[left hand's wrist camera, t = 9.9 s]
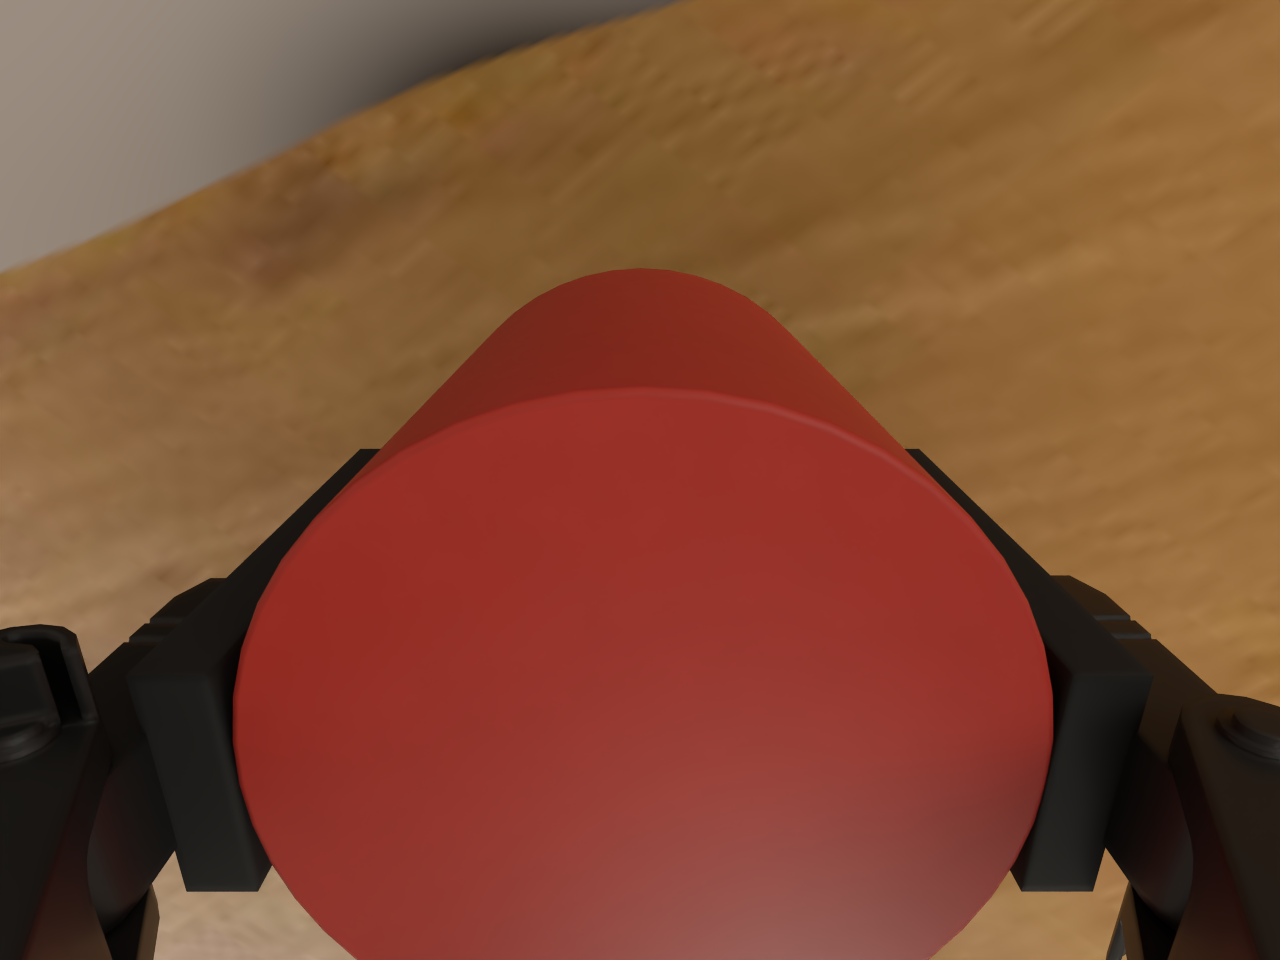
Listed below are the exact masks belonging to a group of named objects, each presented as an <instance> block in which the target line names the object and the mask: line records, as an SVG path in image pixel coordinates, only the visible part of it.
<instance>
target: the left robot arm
mask: <svg viewBox="0 0 1280 960" xmlns="http://www.w3.org/2000/svg"><path fill="white" fill-rule="evenodd" d="M380 450H381V449H360V450H359V451H358V452H357V453H356V454H355V455H354V456H353V457H352V458H351V459H350V460H349V461H347V462H346V463H345V464H344V465H343V466H342V467H341V468H340V469H339V470H338V471H337V472H336V473H335V474H334V475H333V476H332V477H331V478H330V479H329V480H328V481H327V482H326V483H325V484H324V485H323V486H322V487H320V488H319V489H318V490H317V491H316V492H315V493H314V494H313V495H312V496H311V497H310V498H309V499H308V500H307V501H306V502H305V503H304V504H303V505H302V506H301V507H300V508H299V509H298V510H297V511H296V512H295V513H293V514H292V515H291V516H290V517H289V518H288V519H287V520H286V521H285V522H284V523H283V524H282V525H281V526H280V527H279V528H278V529H277V530H276V531H275V532H274V533H273V534H272V535H271V536H270V537H269V538H268V539H266V540H265V541H264V542H263V543H262V544H261V545H260V546H259V547H258V548H257V549H256V550H255V551H254V552H253V553H252V554H251V555H250V556H249V557H248V558H247V559H246V560H245V561H244V562H243V563H242V564H241V565H239V566H238V567H237V568H236V569H235V570H234V571H233V572H232V573H231V574H230V575H229V576H228V577H227V578H210V579H208V580H206V581H204V582H202V583H200V584H199V585H197V586H195V587H193V588H191V589H189V590H187V591H185V592H183V593H181V594H179V595H177V596H176V597H174V598H173V599H172V600H171V601H170V602H168V603H167V604H166V605H165V606H164V607H163V608H162V609H161V610H159V611H158V612H157V613H156V614H155V615H154V616H153V617H152V618H151V619H150V623H149V624H144V625H143V626H142V627H140V628H139V629H138V630H137V631H136V632H135V633H134V634H133V635H132V636H130V637H129V642H124V643H123V644H122V645H120V646H119V647H118V648H117V649H116V650H115V651H114V652H113V653H111V654H110V655H109V656H108V657H107V658H106V659H105V660H104V661H103V662H101V663H100V664H99V665H98V666H97V667H96V668H95V669H94V670H93V671H91V672H90V673H89V674H88V672H87V669H86V666H85V662H84V659H83V656H82V652H81V649H80V646H79V643H78V639H77V636H76V634H75V633H73V632H71V631H70V630H68V629H66V628H65V627H62V626H52V625H43V624H38V625H28V626H19V627H10V628H6V629H2V630H0V960H153V958H154V952H155V945H156V938H157V932H158V925H159V919H160V917H159V910H158V903H157V899H156V895H155V892H154V889H153V885H152V882H153V881H154V880H155V878H156V877H157V875H158V874H159V872H160V871H161V869H162V868H163V867H164V865H165V864H166V862H167V861H168V859H169V858H170V856H171V855H172V854H173V852H174V851H175V853H176V856H177V860H178V863H179V867H180V870H181V874H182V877H183V881H184V884H185V888H186V891H187V892H258V890H259V889H260V887H261V885H262V883H263V881H264V879H265V877H266V875H267V874H268V872H269V870H270V868H271V866H272V864H271V862H270V860H269V858H268V856H267V854H266V852H265V850H264V848H263V846H262V844H261V842H260V840H259V838H258V836H257V834H256V831H255V829H254V827H253V825H252V822H251V819H250V816H249V813H248V810H247V807H246V804H245V801H244V797H243V794H242V791H241V788H240V785H239V779H238V773H237V766H236V760H235V753H234V747H233V693H234V687H235V682H236V676H237V670H238V665H239V659H240V653H241V648H242V645H243V642H244V639H245V636H246V634H247V631H248V628H249V625H250V622H251V620H252V617H253V614H254V611H255V608H256V606H257V603H258V601H259V599H260V598H261V596H262V594H263V592H264V590H265V589H266V587H267V585H268V583H269V581H270V580H271V578H272V576H273V574H274V572H275V571H276V569H277V567H278V565H279V563H280V562H281V560H282V558H283V557H284V556H285V555H286V553H287V552H288V551H289V550H290V548H291V547H292V546H293V544H294V543H295V542H296V541H297V539H298V538H299V537H300V536H301V534H302V533H303V532H304V530H305V529H306V528H307V527H308V525H309V524H310V523H311V522H312V520H313V519H314V518H315V517H316V516H317V515H318V514H319V513H320V512H321V511H322V510H323V509H324V508H325V507H326V506H327V504H328V503H329V502H330V501H331V500H332V499H333V498H334V497H335V496H336V495H337V494H338V493H339V492H340V491H341V490H342V489H343V488H344V487H345V486H346V485H347V484H348V483H349V482H350V481H351V480H352V479H353V478H354V476H355V475H356V474H357V473H358V472H359V471H360V470H361V469H362V468H363V467H364V466H365V465H366V464H367V463H368V462H369V461H370V460H371V459H372V458H373V457H374V456H375V455H376V454H377V453H378V452H379V451H380ZM905 450H906V451H907V452H908V453H909V454H910V455H911V456H912V457H913V458H914V459H915V460H916V461H917V462H918V463H919V464H920V465H921V466H922V467H923V469H924V470H925V471H926V472H927V473H928V474H929V475H930V476H931V477H932V478H933V479H934V480H935V481H936V482H937V483H938V484H939V485H940V486H941V487H942V488H943V489H944V490H945V491H946V492H947V493H948V494H949V495H950V496H951V497H952V498H953V499H954V500H955V501H956V502H957V503H958V504H959V505H960V506H961V507H962V508H963V509H964V510H965V511H966V512H967V513H968V514H969V515H970V516H971V517H972V519H973V520H974V521H975V522H976V524H977V525H978V526H979V527H980V529H981V530H982V531H983V532H984V534H985V535H986V536H987V537H988V539H989V540H990V541H991V542H992V544H993V545H994V546H995V547H996V549H997V550H998V551H999V552H1000V554H1001V555H1002V556H1003V558H1004V559H1005V561H1006V563H1007V565H1008V566H1009V568H1010V570H1011V572H1012V573H1013V575H1014V577H1015V579H1016V581H1017V582H1018V584H1019V586H1020V588H1021V589H1022V591H1023V593H1024V595H1025V597H1026V598H1027V600H1028V602H1029V605H1030V608H1031V611H1032V613H1033V616H1034V619H1035V622H1036V625H1037V627H1038V630H1039V633H1040V636H1041V638H1042V641H1043V644H1044V648H1045V653H1046V659H1047V664H1048V670H1049V675H1050V681H1051V686H1052V693H1053V745H1052V752H1051V758H1050V765H1049V770H1048V774H1047V779H1046V784H1045V787H1044V791H1043V795H1042V799H1041V803H1040V806H1039V809H1038V812H1037V815H1036V818H1035V821H1034V824H1033V826H1032V828H1031V830H1030V832H1029V834H1028V836H1027V839H1026V841H1025V843H1024V845H1023V847H1022V849H1021V851H1020V853H1019V855H1018V857H1017V859H1016V861H1015V863H1014V864H1013V866H1012V867H1011V869H1010V871H1011V873H1012V875H1013V876H1014V878H1015V880H1016V882H1017V884H1018V886H1019V888H1020V890H1021V891H1093V889H1094V886H1095V882H1096V879H1097V875H1098V871H1099V868H1100V864H1101V861H1102V857H1103V854H1104V850H1105V847H1106V849H1107V850H1108V852H1109V853H1110V854H1111V856H1112V857H1113V859H1114V860H1115V862H1116V863H1117V864H1118V866H1119V867H1120V869H1121V870H1122V872H1123V873H1124V874H1125V876H1126V877H1127V879H1128V880H1129V882H1128V885H1127V889H1126V892H1125V895H1124V899H1123V902H1122V905H1121V908H1120V912H1119V915H1118V918H1117V922H1116V925H1115V928H1114V931H1113V935H1112V938H1111V941H1110V945H1109V948H1108V951H1107V956H1106V960H1121V959H1122V956H1124V955H1125V954H1126V956H1127V960H1280V707H1279V706H1275V705H1272V704H1269V703H1265V702H1262V701H1258V700H1255V699H1251V698H1248V697H1242V696H1234V695H1225V694H1217V693H1216V692H1215V691H1214V690H1213V689H1212V688H1210V687H1209V686H1208V685H1207V684H1206V683H1205V682H1204V681H1203V680H1201V679H1200V678H1199V677H1198V676H1197V675H1196V674H1195V673H1194V672H1192V671H1191V670H1190V669H1189V668H1188V667H1187V666H1186V665H1185V664H1183V663H1182V662H1181V661H1180V660H1179V659H1178V658H1177V657H1176V656H1175V655H1173V654H1172V653H1171V652H1170V651H1169V650H1168V649H1167V648H1166V647H1164V646H1163V645H1162V644H1161V643H1160V642H1159V641H1158V640H1157V639H1151V634H1150V633H1149V632H1148V631H1146V630H1145V629H1144V628H1143V627H1142V626H1141V625H1140V624H1139V623H1137V622H1136V621H1131V620H1130V615H1128V614H1127V613H1126V612H1125V611H1124V610H1123V609H1122V608H1121V607H1119V606H1118V605H1117V604H1116V603H1115V602H1114V601H1113V600H1112V599H1110V598H1109V597H1108V596H1107V595H1106V594H1104V593H1102V592H1100V591H1098V590H1096V589H1095V588H1093V587H1091V586H1089V585H1087V584H1085V583H1083V582H1081V581H1079V580H1077V579H1075V578H1073V577H1071V576H1050V575H1049V574H1048V573H1047V572H1046V571H1045V570H1044V569H1043V568H1042V567H1041V566H1040V565H1039V564H1038V563H1037V562H1036V561H1035V560H1034V559H1033V558H1032V557H1031V556H1030V555H1029V554H1027V553H1026V552H1025V551H1024V550H1023V549H1022V548H1021V547H1020V546H1019V545H1018V544H1017V543H1016V542H1015V541H1014V540H1013V539H1012V538H1011V537H1010V536H1009V535H1008V534H1007V533H1006V532H1005V531H1004V530H1003V529H1002V528H1000V527H999V526H998V525H997V524H996V523H995V522H994V521H993V520H992V519H991V518H990V517H989V516H988V515H987V514H986V513H985V512H984V511H983V510H982V509H981V508H980V507H979V506H978V505H977V504H976V503H975V502H973V501H972V500H971V499H970V498H969V497H968V496H967V495H966V494H965V493H964V492H963V491H962V490H961V489H960V488H959V487H958V486H957V485H956V484H955V483H954V482H953V481H952V480H951V479H950V478H949V477H948V476H946V475H945V474H944V473H943V472H942V471H941V470H940V469H939V468H938V467H937V466H936V465H935V464H934V463H933V462H932V461H931V460H930V459H929V458H928V457H927V456H926V455H925V454H924V453H923V452H922V451H921V450H920V449H905Z"/></svg>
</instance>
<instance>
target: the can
mask: <svg viewBox="0 0 1280 960" xmlns="http://www.w3.org/2000/svg"><path fill="white" fill-rule="evenodd" d="M1052 745H1053V693H1052V686H1051V681H1050V675H1049V670H1048V664H1047V659H1046V653H1045V648H1044V644H1043V641H1042V638H1041V636H1040V633H1039V630H1038V627H1037V625H1036V622H1035V619H1034V616H1033V613H1032V611H1031V608H1030V605H1029V602H1028V600H1027V598H1026V597H1025V595H1024V593H1023V591H1022V589H1021V588H1020V586H1019V584H1018V582H1017V581H1016V579H1015V577H1014V575H1013V573H1012V572H1011V570H1010V568H1009V566H1008V565H1007V563H1006V561H1005V559H1004V558H1003V556H1002V555H1001V554H1000V552H999V551H998V550H997V549H996V547H995V546H994V545H993V544H992V542H991V541H990V540H989V539H988V537H987V536H986V535H985V534H984V532H983V531H982V530H981V529H980V527H979V526H978V525H977V524H976V522H975V521H974V520H973V519H972V517H971V516H970V515H969V514H968V513H967V512H966V511H965V510H964V509H963V508H962V507H961V506H960V505H959V504H958V503H957V502H956V501H955V500H954V499H953V498H952V497H951V496H950V495H949V494H948V493H947V492H946V491H945V490H944V489H943V488H942V487H941V486H940V485H939V484H938V483H937V482H936V481H935V480H934V479H933V478H932V477H931V476H930V475H929V474H928V473H927V472H926V471H925V470H924V469H923V467H922V466H921V465H920V464H919V463H918V462H917V461H916V460H915V459H914V458H913V457H912V456H911V455H910V454H909V453H908V452H907V451H906V450H905V449H904V448H903V447H902V446H901V445H900V444H899V443H898V442H897V441H896V440H895V439H894V438H893V437H892V436H891V435H890V434H889V433H888V432H887V431H886V430H885V429H884V428H883V427H882V426H881V425H880V424H879V423H878V422H877V421H876V420H875V419H874V418H873V417H872V416H871V415H870V414H869V413H868V412H867V411H866V410H865V409H864V408H863V407H862V406H861V405H860V404H859V403H858V402H857V401H856V400H855V399H854V398H853V396H852V395H851V394H850V393H849V392H848V391H847V390H846V389H845V388H844V387H843V386H842V385H841V384H840V383H839V382H838V381H837V380H836V379H835V378H834V377H833V376H832V375H831V374H830V373H829V372H828V371H827V370H826V369H825V368H824V367H823V366H822V365H821V364H820V363H819V362H818V361H817V360H816V359H815V358H814V357H813V356H812V355H811V354H810V353H809V352H808V351H807V350H806V349H805V348H804V347H803V346H802V345H801V344H800V343H799V342H798V341H797V340H796V339H795V338H794V337H793V336H792V335H791V334H790V333H789V332H788V331H787V330H786V329H785V328H784V327H783V326H782V325H781V324H780V323H779V322H778V321H777V320H776V319H775V318H773V317H772V316H771V315H770V314H769V313H768V312H767V311H765V310H764V309H762V308H761V307H759V306H758V305H757V304H755V303H754V302H752V301H751V300H749V299H748V298H747V297H745V296H743V295H741V294H739V293H737V292H735V291H733V290H731V289H729V288H727V287H725V286H723V285H721V284H718V283H715V282H712V281H709V280H707V279H704V278H701V277H698V276H695V275H690V274H685V273H680V272H675V271H670V270H657V269H641V268H640V269H626V270H613V271H608V272H603V273H598V274H593V275H589V276H585V277H582V278H579V279H576V280H573V281H571V282H568V283H565V284H562V285H560V286H558V287H556V288H554V289H552V290H550V291H548V292H546V293H544V294H542V295H540V296H538V297H536V298H535V299H533V300H532V301H530V302H529V303H528V304H526V305H525V306H523V307H522V308H521V309H519V310H518V311H516V312H515V313H514V314H513V315H511V316H510V317H509V318H508V319H507V320H506V321H505V322H504V323H503V324H502V325H501V326H500V327H499V328H498V329H497V330H495V331H494V332H493V333H492V335H491V336H490V337H489V338H488V339H487V340H486V341H485V342H484V343H483V344H482V345H481V346H480V347H479V348H478V349H477V350H476V351H475V352H474V353H473V354H472V355H471V356H470V357H469V358H468V359H467V360H466V361H465V362H464V364H463V365H462V366H461V367H460V368H459V369H458V370H457V371H456V372H455V373H454V374H453V375H452V376H451V377H450V378H449V379H448V380H447V381H446V382H445V383H444V384H443V385H442V386H441V387H440V388H439V389H438V390H437V392H436V393H435V394H434V395H433V396H432V397H431V398H430V399H429V400H428V401H427V402H426V403H425V404H424V405H423V406H422V407H421V408H420V409H419V410H418V411H417V412H416V413H415V414H414V415H413V416H412V417H411V418H410V419H409V421H408V422H407V423H406V424H405V425H404V426H403V427H402V428H401V429H400V430H399V431H398V432H397V433H396V434H395V435H394V436H393V437H392V438H391V439H390V440H389V441H388V442H387V443H386V444H385V445H384V446H383V447H382V449H381V450H380V451H379V452H378V453H377V454H376V455H375V456H374V457H373V458H372V459H371V460H370V461H369V462H368V463H367V464H366V465H365V466H364V467H363V468H362V469H361V470H360V471H359V472H358V473H357V474H356V475H355V476H354V478H353V479H352V480H351V481H350V482H349V483H348V484H347V485H346V486H345V487H344V488H343V489H342V490H341V491H340V492H339V493H338V494H337V495H336V496H335V497H334V498H333V499H332V500H331V501H330V502H329V503H328V504H327V506H326V507H325V508H324V509H323V510H322V511H321V512H320V513H319V514H318V515H317V516H316V517H315V518H314V519H313V520H312V522H311V523H310V524H309V525H308V527H307V528H306V529H305V530H304V532H303V533H302V534H301V536H300V537H299V538H298V539H297V541H296V542H295V543H294V544H293V546H292V547H291V548H290V550H289V551H288V552H287V553H286V555H285V556H284V557H283V558H282V560H281V562H280V563H279V565H278V567H277V569H276V571H275V572H274V574H273V576H272V578H271V580H270V581H269V583H268V585H267V587H266V589H265V590H264V592H263V594H262V596H261V598H260V599H259V601H258V603H257V606H256V608H255V611H254V614H253V617H252V620H251V622H250V625H249V628H248V631H247V634H246V636H245V639H244V642H243V645H242V648H241V653H240V659H239V665H238V670H237V676H236V682H235V687H234V693H233V747H234V753H235V760H236V766H237V773H238V779H239V785H240V788H241V791H242V794H243V797H244V801H245V804H246V807H247V810H248V813H249V816H250V819H251V822H252V825H253V827H254V829H255V831H256V834H257V836H258V838H259V840H260V842H261V844H262V846H263V848H264V850H265V852H266V854H267V856H268V858H269V860H270V862H271V864H272V865H273V867H274V868H275V870H276V871H277V873H278V874H279V875H280V877H281V878H282V880H283V881H284V883H285V884H286V886H287V887H288V889H289V890H290V892H291V893H292V895H293V896H294V898H295V899H296V900H297V901H298V902H299V903H300V905H301V906H302V907H303V908H304V909H305V910H306V911H307V912H308V914H309V915H310V916H311V917H312V918H313V919H314V920H315V921H316V923H317V924H318V925H319V926H320V927H321V928H322V929H323V930H324V931H325V932H326V933H327V934H328V935H329V936H330V937H332V938H333V939H334V940H335V941H336V942H337V943H338V944H339V945H341V946H342V947H343V948H344V949H345V950H346V951H347V952H349V953H350V954H351V955H352V956H353V957H354V958H355V959H357V960H928V959H930V958H931V957H932V956H933V955H934V954H936V953H937V952H938V951H939V950H940V949H941V948H942V947H943V946H945V945H946V944H947V943H948V942H949V941H950V940H951V939H952V938H954V937H955V936H956V935H957V934H958V933H959V932H960V931H961V930H963V928H964V927H965V926H966V925H967V924H968V923H969V922H970V921H971V919H972V918H973V917H974V916H975V915H976V914H977V913H978V911H979V910H980V909H981V908H982V907H983V906H984V905H985V904H986V902H987V901H988V900H989V899H990V898H991V897H992V895H993V894H994V892H995V891H996V889H997V888H998V886H999V885H1000V883H1001V882H1002V880H1003V879H1004V877H1005V876H1006V874H1007V873H1008V872H1009V870H1010V869H1011V867H1012V866H1013V864H1014V863H1015V861H1016V859H1017V857H1018V855H1019V853H1020V851H1021V849H1022V847H1023V845H1024V843H1025V841H1026V839H1027V836H1028V834H1029V832H1030V830H1031V828H1032V826H1033V824H1034V821H1035V818H1036V815H1037V812H1038V809H1039V806H1040V803H1041V799H1042V795H1043V791H1044V787H1045V784H1046V779H1047V774H1048V770H1049V765H1050V758H1051V752H1052Z"/></svg>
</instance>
